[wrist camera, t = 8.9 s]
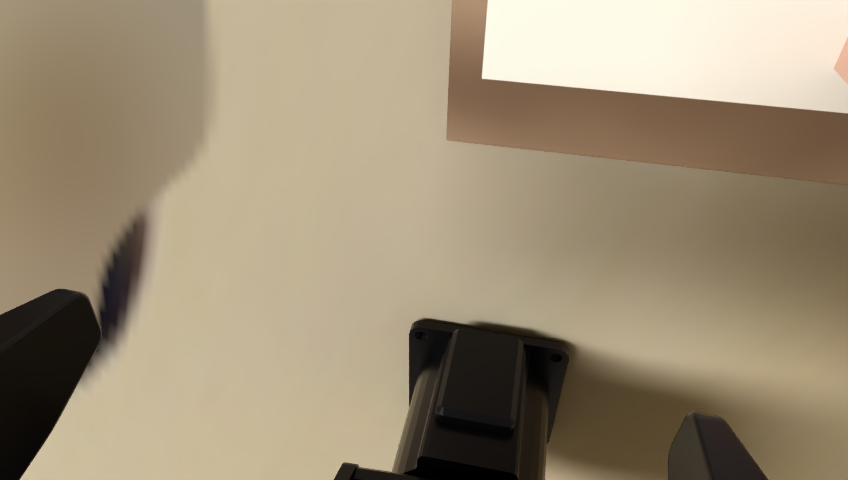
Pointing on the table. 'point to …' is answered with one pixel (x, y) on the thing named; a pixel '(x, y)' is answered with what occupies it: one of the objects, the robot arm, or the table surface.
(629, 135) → the brown flat board
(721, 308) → the table surface
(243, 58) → the table surface
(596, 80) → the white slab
